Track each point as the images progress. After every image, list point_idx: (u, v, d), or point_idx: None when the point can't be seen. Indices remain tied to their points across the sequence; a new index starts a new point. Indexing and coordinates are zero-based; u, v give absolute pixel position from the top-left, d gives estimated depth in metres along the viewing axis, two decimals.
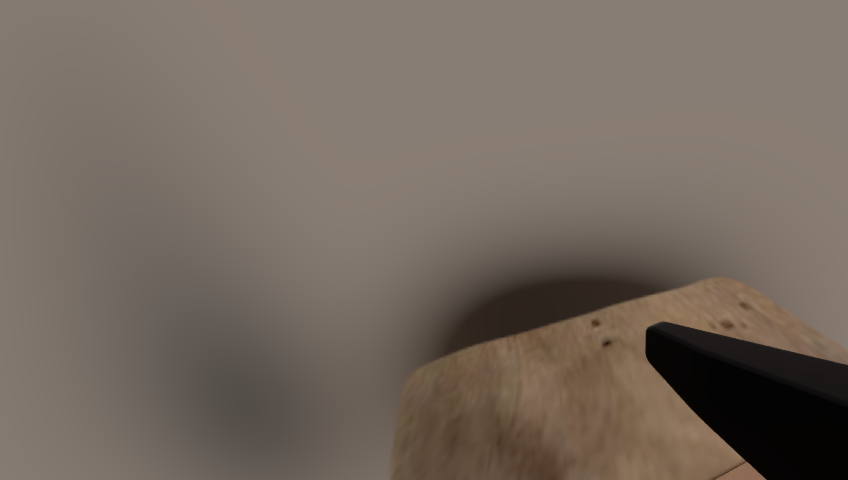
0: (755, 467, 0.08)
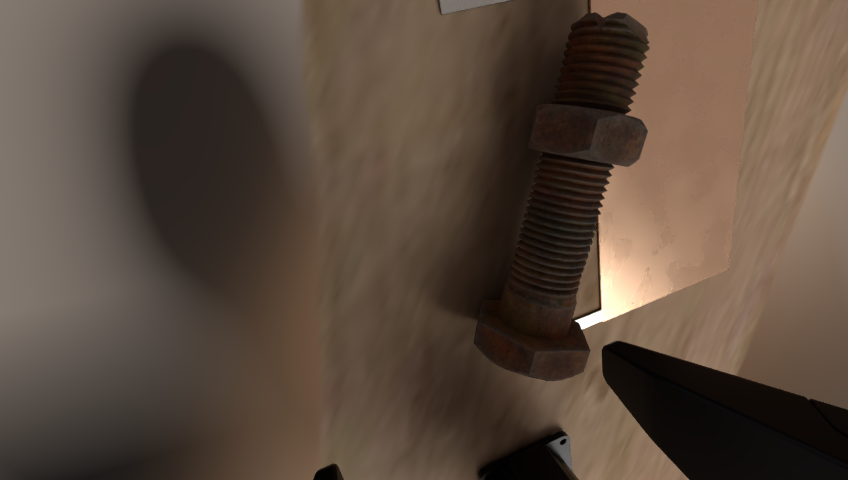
0: None
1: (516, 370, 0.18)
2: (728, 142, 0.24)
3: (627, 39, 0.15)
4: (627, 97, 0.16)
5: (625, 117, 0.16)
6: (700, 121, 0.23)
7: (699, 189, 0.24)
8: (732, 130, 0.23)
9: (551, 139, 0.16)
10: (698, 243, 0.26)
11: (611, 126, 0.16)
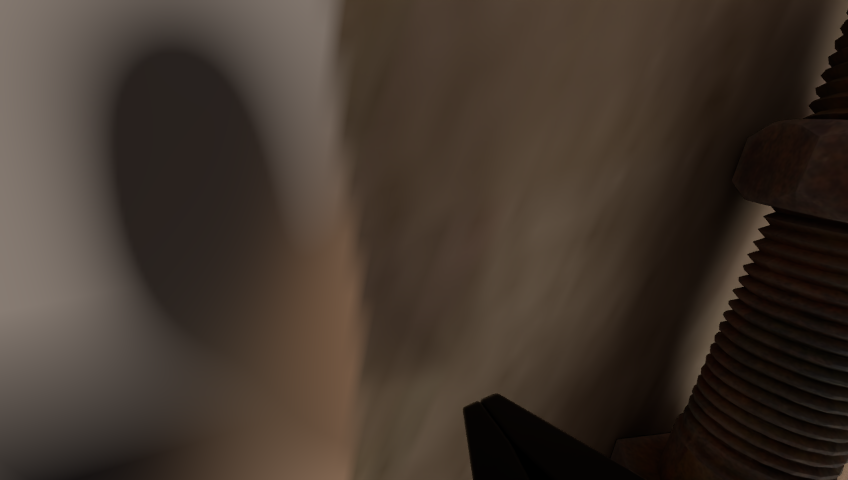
0: None
1: None
2: None
3: None
4: None
5: None
6: None
7: None
8: None
9: None
10: None
11: None
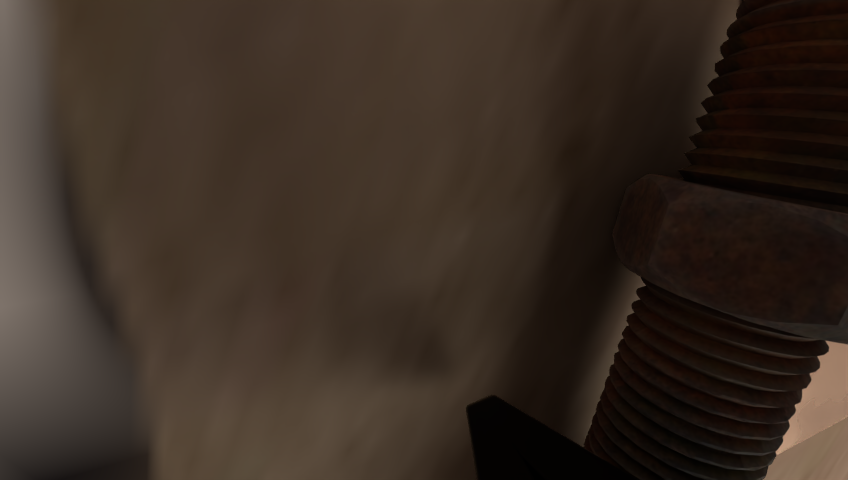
0: None
1: None
2: None
3: None
4: None
5: None
6: None
7: None
8: None
9: (709, 276, 0.07)
10: None
11: None
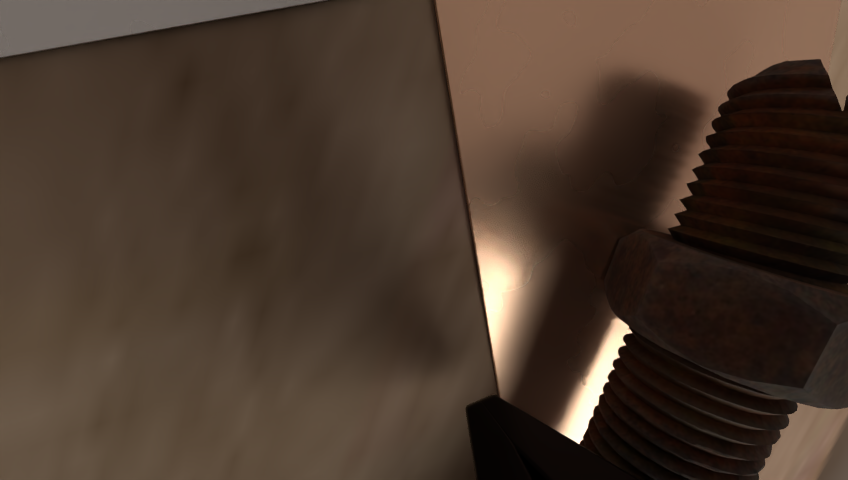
0: None
1: None
2: None
3: None
4: None
5: None
6: None
7: None
8: None
9: (690, 332, 0.07)
10: None
11: None
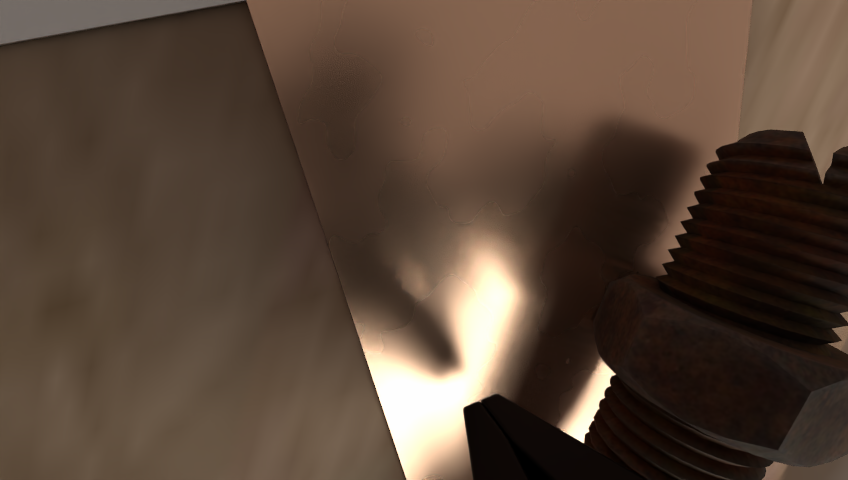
0: None
1: None
2: None
3: None
4: (841, 315, 0.08)
5: None
6: None
7: None
8: None
9: (673, 387, 0.07)
10: None
11: (831, 400, 0.07)
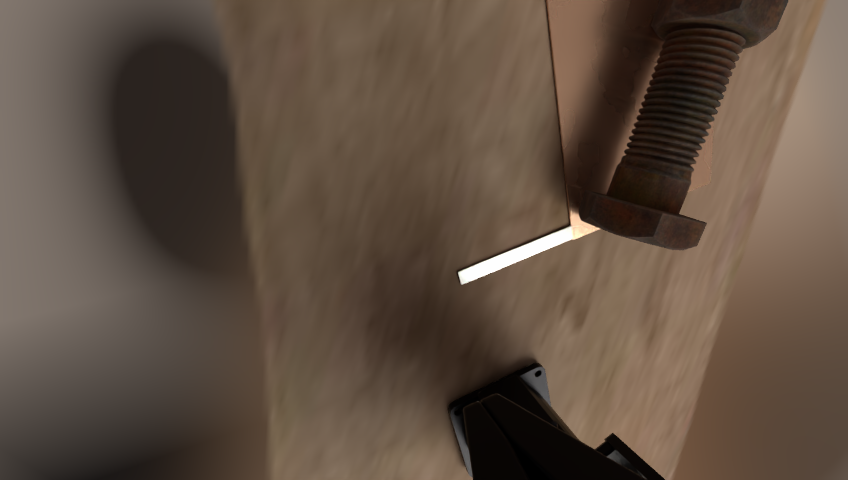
0: None
1: (638, 236, 0.19)
2: None
3: None
4: None
5: None
6: None
7: None
8: None
9: (695, 4, 0.17)
10: None
11: None
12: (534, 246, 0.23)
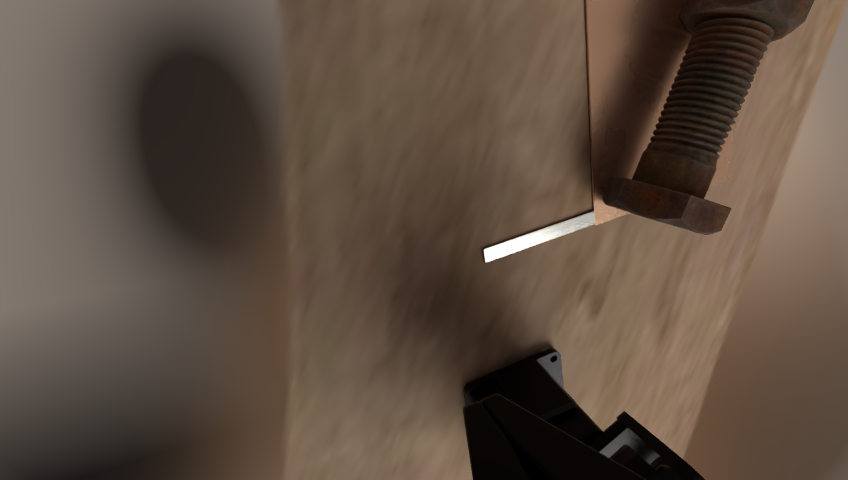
0: None
1: (666, 217, 0.19)
2: None
3: None
4: None
5: None
6: None
7: None
8: None
9: None
10: None
11: None
12: (558, 229, 0.23)
